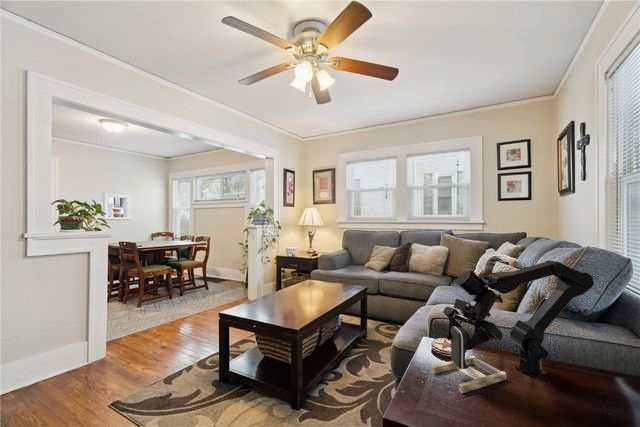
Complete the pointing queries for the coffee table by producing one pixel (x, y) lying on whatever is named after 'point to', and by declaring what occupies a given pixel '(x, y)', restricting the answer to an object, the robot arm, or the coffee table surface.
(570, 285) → the robot arm
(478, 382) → the guide channel
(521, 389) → the coffee table surface
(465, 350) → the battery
